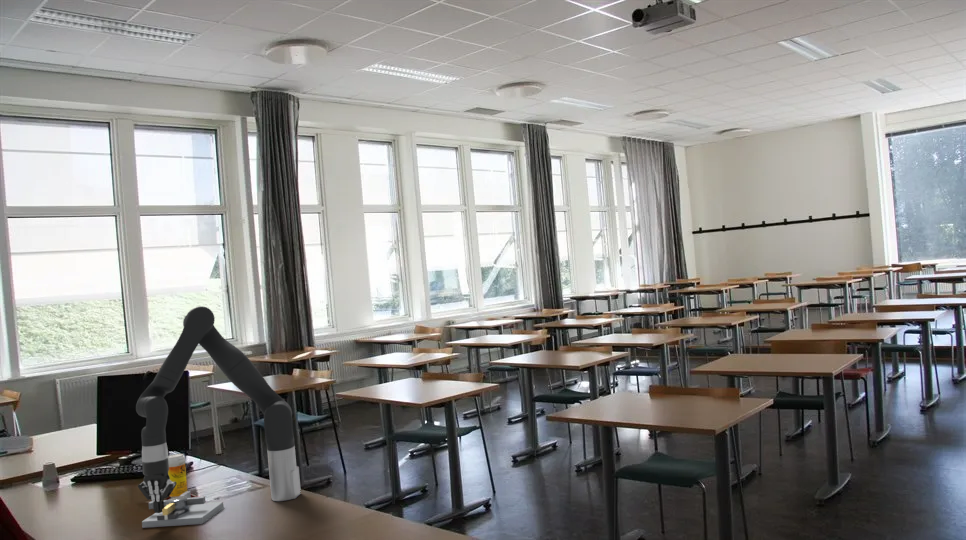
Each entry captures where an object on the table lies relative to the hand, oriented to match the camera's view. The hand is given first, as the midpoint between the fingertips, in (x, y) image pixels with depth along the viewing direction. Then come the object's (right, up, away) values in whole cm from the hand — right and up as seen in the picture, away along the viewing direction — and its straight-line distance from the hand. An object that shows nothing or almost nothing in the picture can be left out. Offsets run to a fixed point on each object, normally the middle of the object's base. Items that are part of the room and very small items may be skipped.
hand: (159, 512), depth 219 cm
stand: (+5, -4, +7) cm, 10 cm away
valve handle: (+3, -3, +8) cm, 8 cm away
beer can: (-8, -6, +33) cm, 35 cm away
